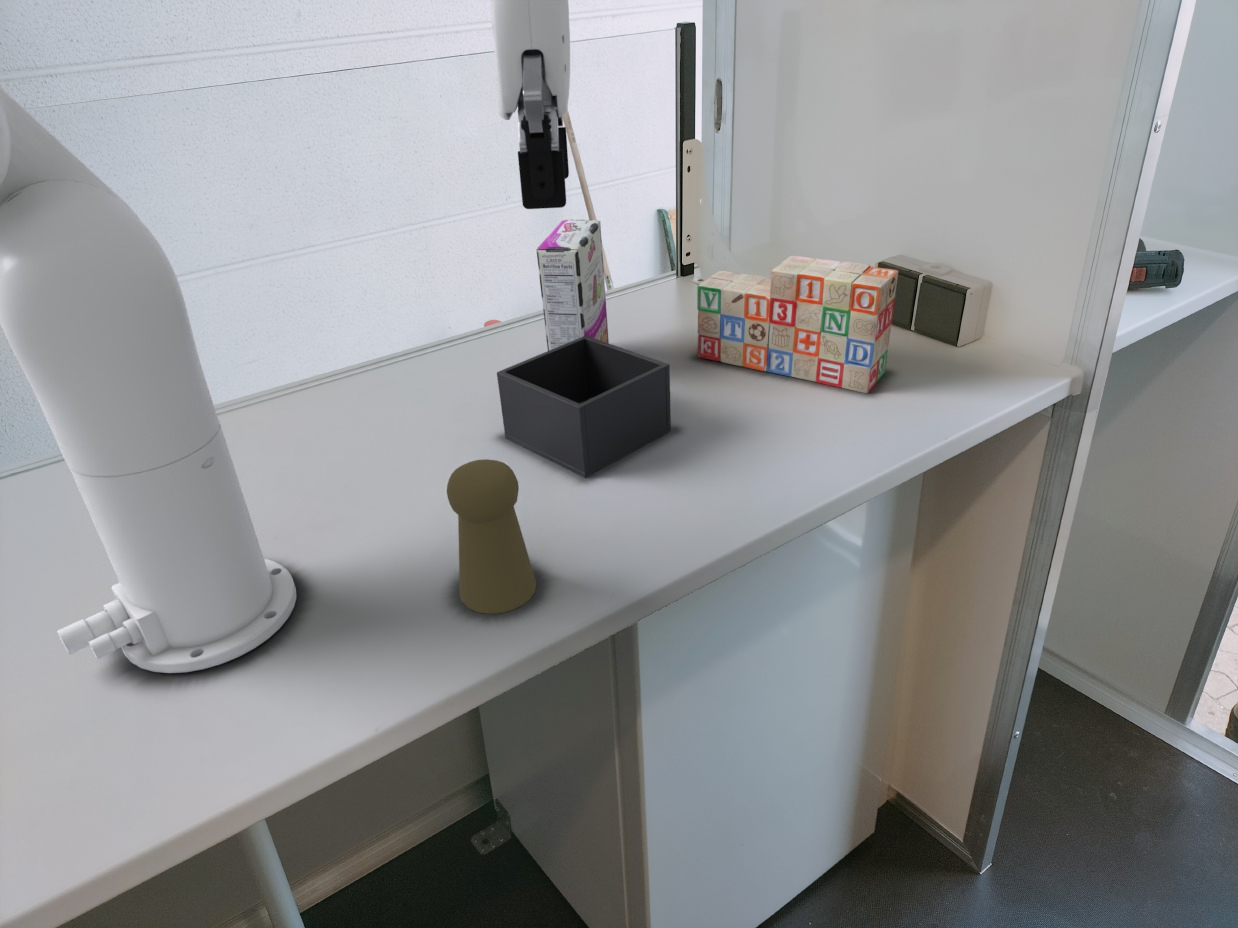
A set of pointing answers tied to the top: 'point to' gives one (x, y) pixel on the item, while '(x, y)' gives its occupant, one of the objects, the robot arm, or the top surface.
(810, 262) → the stack of blocks
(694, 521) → the top surface
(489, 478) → the cork
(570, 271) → the candy bar box
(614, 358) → the basket
